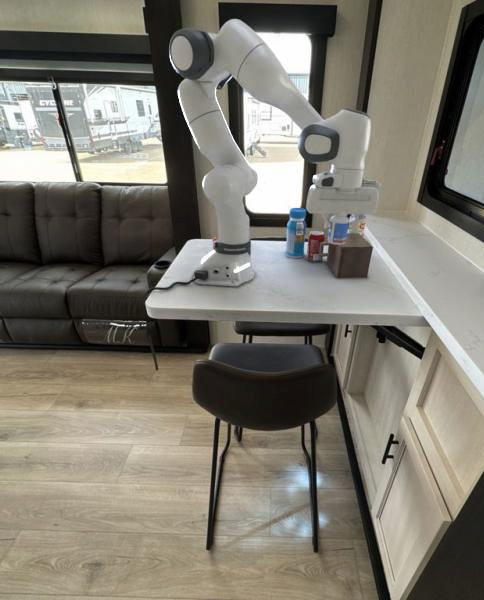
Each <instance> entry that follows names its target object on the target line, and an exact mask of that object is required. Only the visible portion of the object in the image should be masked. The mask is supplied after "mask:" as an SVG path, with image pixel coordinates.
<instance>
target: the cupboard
mask: <svg viewBox="0 0 484 600" xmlns="http://www.w3.org/2000/svg"><path fill="white" fill-rule="evenodd" d="M341 245H342V246H343V252H342V259H341V265H340V272H339V278H338V279H352V278H353V279H356V278H357V279H360V278H361V279H363V278H365V279H366V278H368V274H369V271H370V270H369V268H370V265H371V260H372V255H373V250H374V246H373V245H372V244H371V243H370V242H369V241H368V240H367V239H365V237H364V236H363V237H362V236H361V235H360V234H359V233H347V236H346V242H345V243H344V244H341Z"/></svg>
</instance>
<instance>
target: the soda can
mask: <svg viewBox="0 0 484 600" xmlns="http://www.w3.org/2000/svg"><path fill="white" fill-rule="evenodd" d="M324 234H325V232H324V231H323V230H322V231H321V230H311V231H310V233H309V235H308V238H307V250H306V259H307V260H308V261H310V262H313V263H316V262H317V263H318V262H321V261H322V260H323V258H324V257H319V248H320V242H326V241H325V240H326V236H325V235H324ZM324 249H325V246H323V248H322V253H324Z"/></svg>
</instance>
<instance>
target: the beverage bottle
mask: <svg viewBox="0 0 484 600" xmlns="http://www.w3.org/2000/svg"><path fill="white" fill-rule="evenodd" d="M288 216H289V220H288V221H287V224H286V244H285V255H286V256H287V257H288V258H292V259H299V258H302V257H304V255H305V243H306V242H305V241H306V235H307V230H306V228H307V223H306V220H305V219H306V216H307V209H306V208H303V207H291V208H290V209H289V215H288Z"/></svg>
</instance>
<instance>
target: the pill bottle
mask: <svg viewBox="0 0 484 600" xmlns="http://www.w3.org/2000/svg"><path fill="white" fill-rule="evenodd" d="M349 220H350V217H348V214H346V213H345V211H341V212H340V213H339V214H333V215H332V216H331V217H330V218H329V222H330V223H331V226H330V227H331V228H330V229H328V232H327V242H329V243H331V244H336V245H341V244H344V243H345V242H346V236H347V232H348V224H349Z"/></svg>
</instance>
